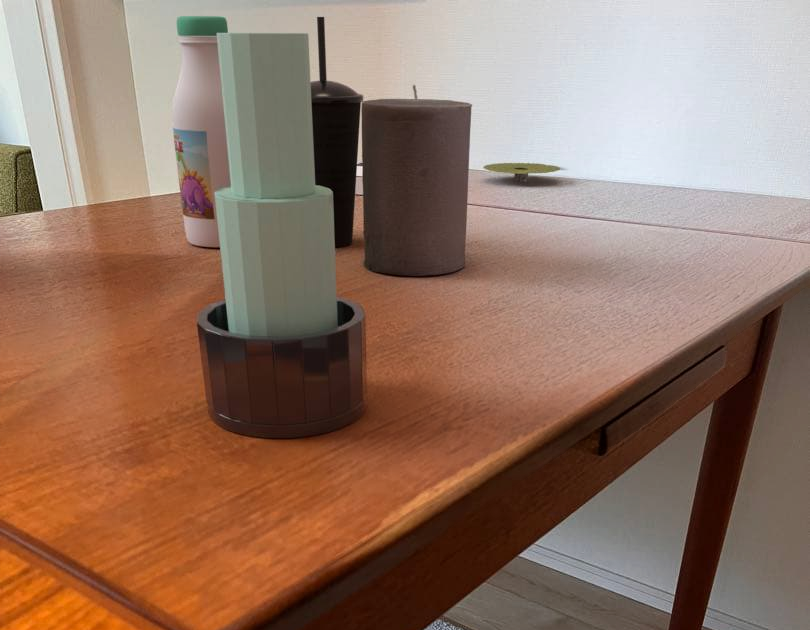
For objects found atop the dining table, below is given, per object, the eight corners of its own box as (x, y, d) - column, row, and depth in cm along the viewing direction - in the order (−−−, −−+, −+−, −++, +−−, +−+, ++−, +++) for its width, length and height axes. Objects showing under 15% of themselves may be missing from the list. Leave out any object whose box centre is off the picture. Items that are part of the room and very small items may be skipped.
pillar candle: (346, 271, 77) (340, 86, 69) (387, 249, 85) (386, 80, 77) (446, 281, 74) (452, 89, 66) (479, 258, 82) (488, 83, 74)
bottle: (221, 410, 47) (178, 32, 37) (253, 372, 52) (221, 32, 43) (327, 416, 46) (309, 33, 37) (348, 377, 51) (337, 33, 42)
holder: (185, 433, 46) (171, 334, 43) (236, 375, 54) (227, 288, 51) (350, 443, 45) (347, 343, 42) (378, 382, 53) (377, 294, 50)
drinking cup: (348, 253, 83) (341, 16, 73) (279, 247, 85) (263, 16, 75) (377, 238, 89) (374, 17, 79) (312, 233, 92) (301, 17, 81)
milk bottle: (254, 231, 92) (236, 17, 82) (267, 246, 86) (249, 15, 75) (183, 236, 90) (155, 16, 79) (190, 251, 84) (161, 15, 73)
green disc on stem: (538, 189, 118) (540, 174, 117) (468, 182, 123) (469, 168, 122) (571, 180, 126) (572, 165, 125) (504, 173, 131) (505, 160, 130)
